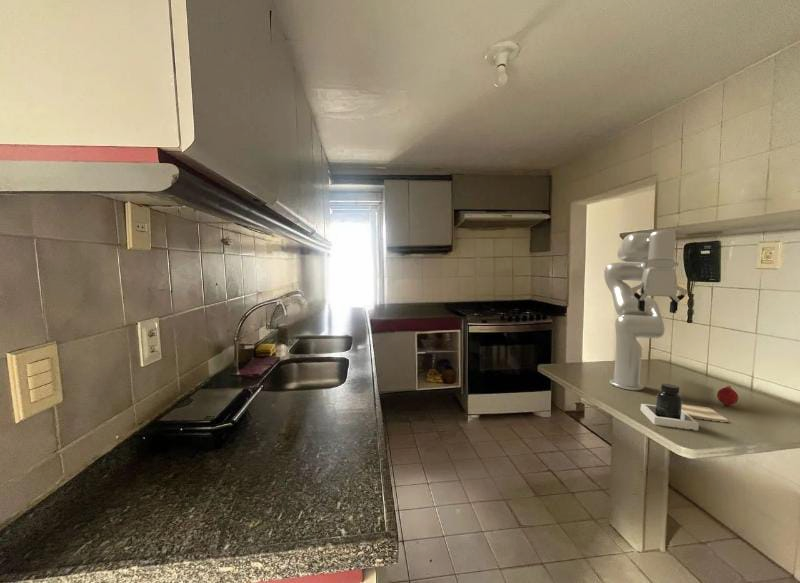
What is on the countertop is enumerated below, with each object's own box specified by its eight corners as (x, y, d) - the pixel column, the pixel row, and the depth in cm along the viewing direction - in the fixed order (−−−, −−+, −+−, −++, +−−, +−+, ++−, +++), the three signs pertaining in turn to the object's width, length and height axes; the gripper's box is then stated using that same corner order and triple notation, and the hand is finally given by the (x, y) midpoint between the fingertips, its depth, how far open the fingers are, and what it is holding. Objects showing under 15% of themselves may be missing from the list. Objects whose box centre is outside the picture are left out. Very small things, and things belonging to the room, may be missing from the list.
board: (670, 405, 129) (670, 402, 128) (709, 410, 125) (709, 407, 125) (685, 417, 118) (685, 414, 118) (727, 422, 115) (728, 420, 114)
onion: (732, 410, 126) (734, 389, 125) (713, 404, 131) (715, 384, 130) (740, 407, 128) (742, 387, 127) (721, 402, 133) (723, 382, 133)
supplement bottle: (685, 425, 112) (688, 390, 111) (661, 423, 113) (664, 388, 112) (672, 416, 119) (675, 383, 118) (650, 414, 120) (653, 381, 119)
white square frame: (640, 410, 123) (641, 403, 123) (679, 415, 120) (680, 408, 120) (654, 424, 112) (654, 417, 112) (698, 430, 108) (698, 423, 108)
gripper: (683, 266, 123) (680, 312, 124) (629, 265, 129) (626, 309, 130) (694, 265, 116) (690, 314, 117) (636, 264, 121) (633, 311, 122)
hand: (656, 312), depth 123 cm, fingers open, 9 cm apart
